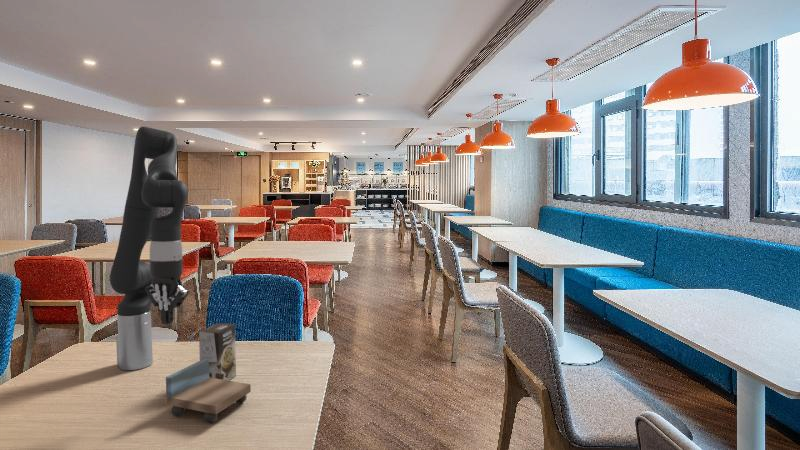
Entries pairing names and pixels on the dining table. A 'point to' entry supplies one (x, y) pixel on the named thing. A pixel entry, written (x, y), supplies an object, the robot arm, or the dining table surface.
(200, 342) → the coffee box
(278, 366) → the dining table surface
